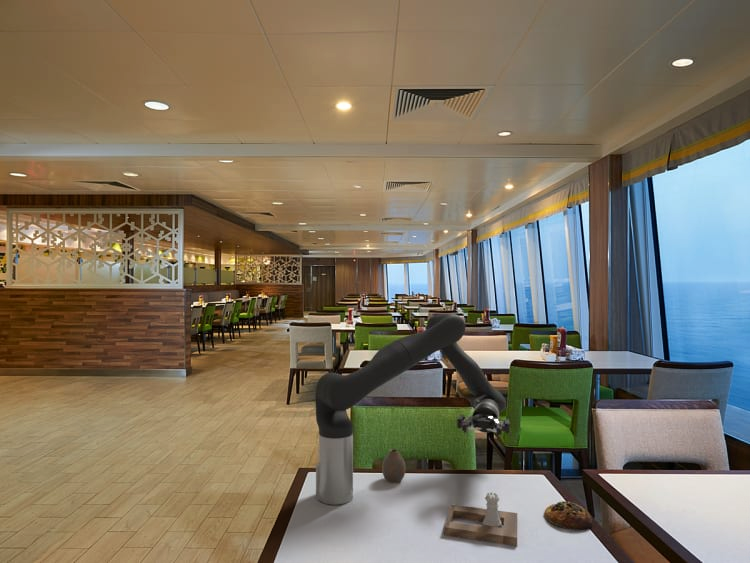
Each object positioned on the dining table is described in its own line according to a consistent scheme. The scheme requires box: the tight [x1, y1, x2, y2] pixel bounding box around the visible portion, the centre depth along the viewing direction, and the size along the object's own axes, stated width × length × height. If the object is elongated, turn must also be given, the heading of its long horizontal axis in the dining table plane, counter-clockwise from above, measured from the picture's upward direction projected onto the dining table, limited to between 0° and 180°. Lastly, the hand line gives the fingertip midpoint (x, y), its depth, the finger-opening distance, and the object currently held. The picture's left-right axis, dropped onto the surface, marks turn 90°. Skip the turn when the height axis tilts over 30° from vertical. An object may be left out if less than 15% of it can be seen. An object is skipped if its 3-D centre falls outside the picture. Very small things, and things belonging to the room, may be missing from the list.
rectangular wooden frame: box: [443, 504, 518, 547], centre depth 111 cm, size 16×12×2 cm
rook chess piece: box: [482, 491, 503, 528], centre depth 111 cm, size 4×4×8 cm
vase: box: [381, 448, 407, 484], centre depth 139 cm, size 7×7×9 cm
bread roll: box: [543, 500, 593, 531], centre depth 115 cm, size 11×11×5 cm
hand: (481, 430), depth 126 cm, fingers open, 8 cm apart
